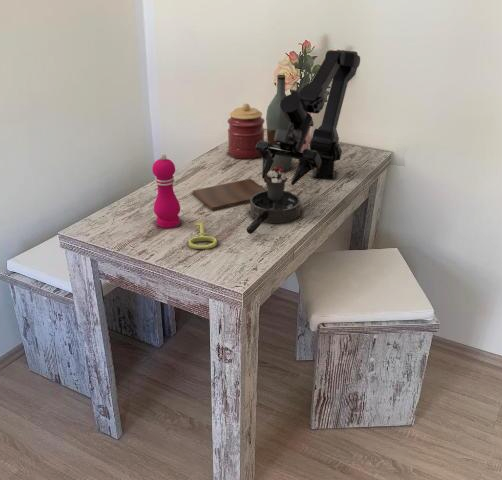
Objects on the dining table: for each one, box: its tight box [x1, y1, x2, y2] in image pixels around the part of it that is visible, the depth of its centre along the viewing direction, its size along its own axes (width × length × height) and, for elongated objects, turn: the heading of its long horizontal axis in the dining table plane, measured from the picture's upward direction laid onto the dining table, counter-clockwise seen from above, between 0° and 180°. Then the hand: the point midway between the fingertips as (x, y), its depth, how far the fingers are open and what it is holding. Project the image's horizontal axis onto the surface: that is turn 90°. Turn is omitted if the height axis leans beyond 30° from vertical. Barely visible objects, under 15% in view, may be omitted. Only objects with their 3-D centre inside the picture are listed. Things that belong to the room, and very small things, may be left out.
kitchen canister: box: [227, 103, 266, 160], centre depth 203 cm, size 13×13×18 cm
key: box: [188, 220, 218, 250], centre depth 152 cm, size 7×12×2 cm, turn 23°
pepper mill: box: [151, 153, 181, 229], centre depth 155 cm, size 7×7×20 cm
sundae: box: [263, 161, 289, 210], centre depth 161 cm, size 7×7×15 cm
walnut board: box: [192, 178, 267, 211], centre depth 176 cm, size 20×14×1 cm
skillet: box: [249, 190, 302, 224], centre depth 164 cm, size 14×14×4 cm
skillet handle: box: [246, 211, 268, 235], centre depth 154 cm, size 12×2×2 cm, turn 156°
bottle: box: [265, 74, 293, 172], centre depth 188 cm, size 9×9×30 cm
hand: (277, 181), depth 161 cm, fingers open, 9 cm apart
